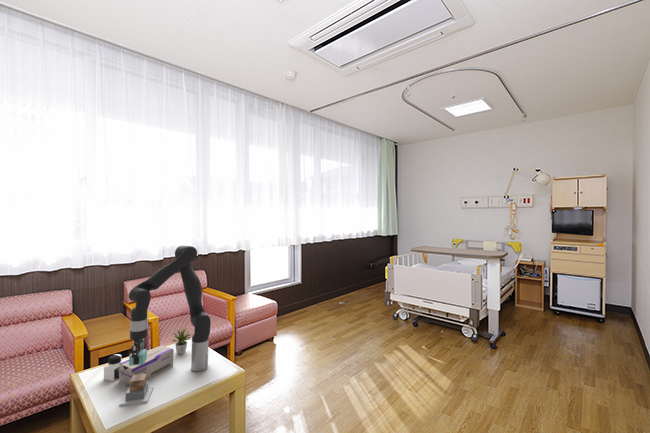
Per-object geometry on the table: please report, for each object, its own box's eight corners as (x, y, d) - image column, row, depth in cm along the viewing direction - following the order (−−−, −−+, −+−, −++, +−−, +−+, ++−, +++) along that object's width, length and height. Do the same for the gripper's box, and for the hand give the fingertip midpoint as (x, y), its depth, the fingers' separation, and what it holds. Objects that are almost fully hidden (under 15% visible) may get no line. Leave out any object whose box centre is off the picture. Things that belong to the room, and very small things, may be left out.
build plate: (153, 388, 159) (153, 379, 159) (147, 402, 148) (147, 392, 148) (127, 391, 156) (127, 382, 156) (119, 406, 144) (119, 396, 144)
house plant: (175, 361, 187) (175, 335, 186) (163, 354, 194) (163, 329, 194) (196, 352, 199) (196, 328, 198) (183, 346, 206) (184, 322, 206)
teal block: (146, 358, 155) (146, 349, 155) (142, 364, 149) (142, 354, 149) (133, 359, 153) (133, 350, 153) (129, 365, 148) (129, 355, 147)
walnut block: (146, 382, 156) (146, 373, 155) (143, 389, 150) (143, 379, 150) (133, 384, 154) (133, 374, 154) (129, 391, 148) (129, 381, 148)
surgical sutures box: (131, 388, 159) (132, 368, 158) (119, 382, 163) (119, 363, 163) (173, 366, 181) (173, 349, 181) (161, 362, 186) (161, 345, 185)
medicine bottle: (114, 381, 164) (114, 360, 163) (103, 379, 165) (103, 358, 165) (125, 374, 171) (125, 353, 170) (114, 372, 172) (115, 352, 172)
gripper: (143, 333, 145) (142, 367, 145) (151, 321, 159) (150, 353, 159) (125, 334, 143) (124, 369, 143) (134, 322, 156) (134, 354, 157)
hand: (138, 360), depth 151 cm, fingers closed on teal block, 6 cm apart
